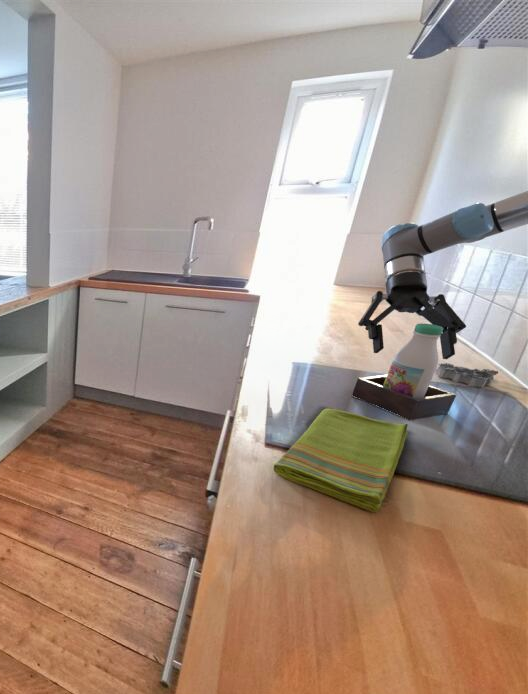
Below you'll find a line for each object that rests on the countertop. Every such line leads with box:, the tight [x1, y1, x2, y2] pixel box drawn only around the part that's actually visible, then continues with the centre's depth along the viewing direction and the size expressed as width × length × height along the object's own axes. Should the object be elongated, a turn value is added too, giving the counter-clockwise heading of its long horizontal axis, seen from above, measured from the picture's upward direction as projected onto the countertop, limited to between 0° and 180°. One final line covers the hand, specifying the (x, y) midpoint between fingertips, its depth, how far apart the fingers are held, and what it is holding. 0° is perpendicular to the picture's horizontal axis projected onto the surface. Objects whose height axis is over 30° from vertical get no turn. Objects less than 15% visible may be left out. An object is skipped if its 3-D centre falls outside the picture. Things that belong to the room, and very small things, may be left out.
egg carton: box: [435, 362, 499, 389], centre depth 115 cm, size 11×8×4 cm
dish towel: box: [273, 407, 409, 513], centre depth 80 cm, size 15×36×3 cm, turn 133°
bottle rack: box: [351, 374, 457, 421], centre depth 100 cm, size 13×12×5 cm
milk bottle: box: [383, 323, 443, 398], centre depth 97 cm, size 8×8×20 cm
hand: (413, 353), depth 98 cm, fingers open, 13 cm apart
